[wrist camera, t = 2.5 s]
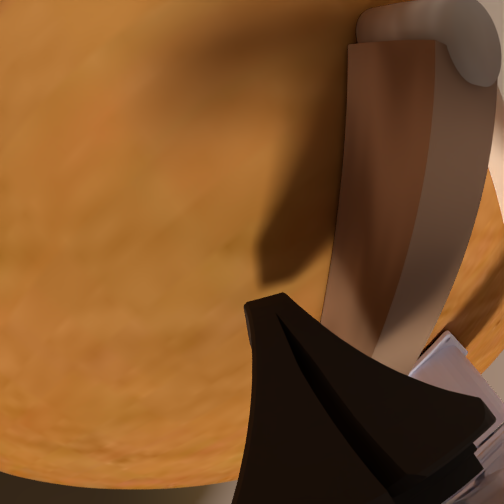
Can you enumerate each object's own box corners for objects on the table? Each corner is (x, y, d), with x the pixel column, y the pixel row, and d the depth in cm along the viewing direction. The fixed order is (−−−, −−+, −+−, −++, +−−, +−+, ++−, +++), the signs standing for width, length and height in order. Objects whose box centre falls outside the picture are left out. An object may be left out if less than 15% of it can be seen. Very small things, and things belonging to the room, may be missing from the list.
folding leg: (346, -3, 6) (439, -26, 3) (415, 21, 7) (503, 22, 4) (314, 355, 14) (349, 417, 11) (365, 338, 14) (403, 392, 11)
